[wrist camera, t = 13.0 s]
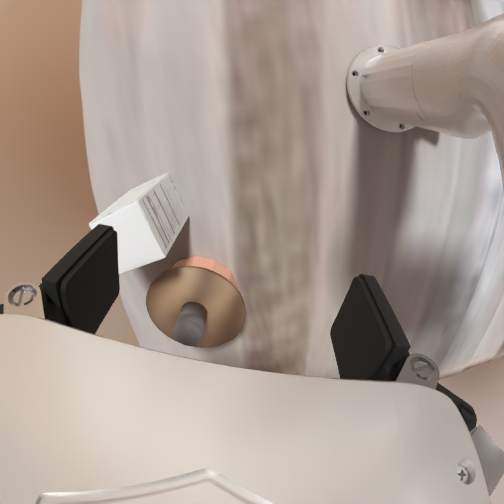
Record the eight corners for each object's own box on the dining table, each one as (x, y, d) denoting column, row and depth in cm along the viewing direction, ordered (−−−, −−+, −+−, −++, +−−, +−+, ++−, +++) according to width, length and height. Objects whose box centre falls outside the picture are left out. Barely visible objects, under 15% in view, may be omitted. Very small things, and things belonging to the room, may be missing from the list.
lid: (254, 277, 40) (253, 303, 35) (236, 350, 47) (234, 377, 42) (147, 256, 39) (132, 279, 34) (148, 333, 46) (138, 358, 41)
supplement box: (149, 232, 44) (116, 276, 33) (128, 189, 40) (85, 223, 29) (191, 216, 42) (166, 259, 31) (170, 170, 39) (135, 198, 28)
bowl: (242, 264, 46) (240, 285, 41) (230, 321, 51) (227, 343, 47) (168, 250, 45) (158, 268, 40) (165, 307, 51) (157, 328, 46)
